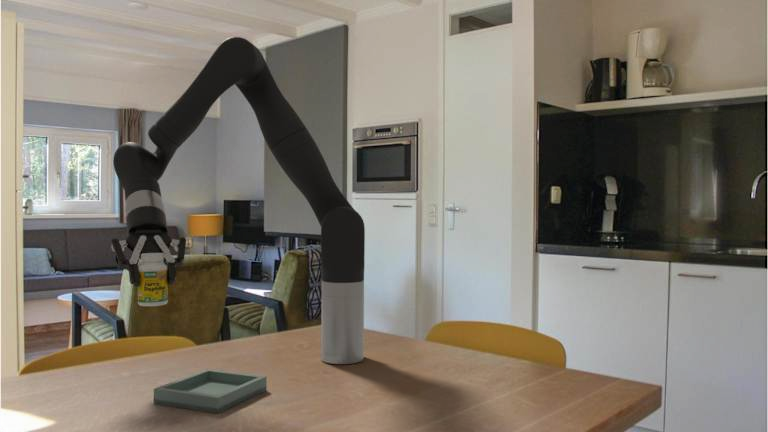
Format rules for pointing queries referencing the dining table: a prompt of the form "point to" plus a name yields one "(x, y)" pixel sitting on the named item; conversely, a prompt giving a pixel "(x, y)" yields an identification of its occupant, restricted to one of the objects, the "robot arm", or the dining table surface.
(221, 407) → the tray
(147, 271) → the supplement bottle
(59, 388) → the dining table surface
